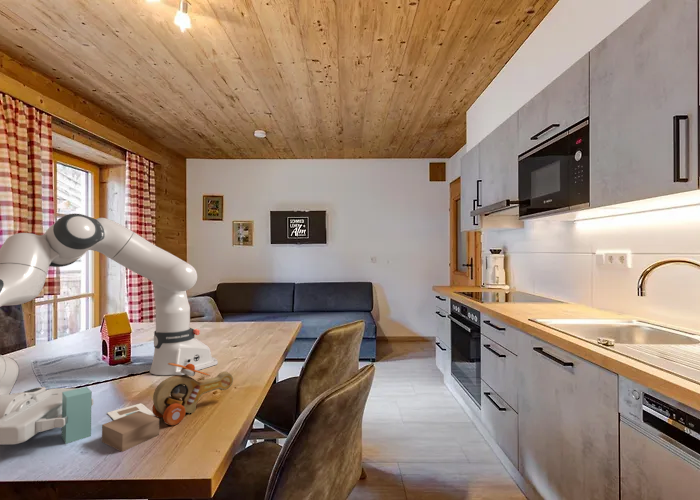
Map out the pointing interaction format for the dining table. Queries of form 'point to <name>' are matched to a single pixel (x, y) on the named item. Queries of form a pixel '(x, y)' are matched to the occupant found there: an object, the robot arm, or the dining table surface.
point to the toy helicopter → (184, 393)
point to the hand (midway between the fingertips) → (79, 411)
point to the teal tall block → (76, 414)
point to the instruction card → (129, 411)
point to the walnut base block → (130, 430)
